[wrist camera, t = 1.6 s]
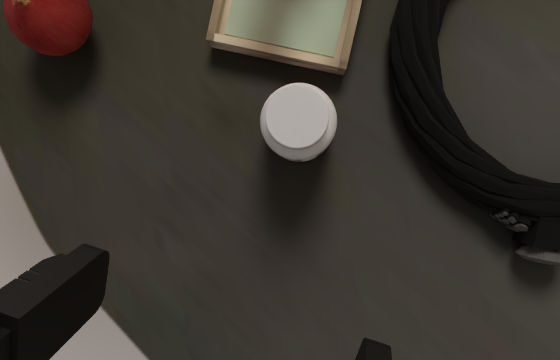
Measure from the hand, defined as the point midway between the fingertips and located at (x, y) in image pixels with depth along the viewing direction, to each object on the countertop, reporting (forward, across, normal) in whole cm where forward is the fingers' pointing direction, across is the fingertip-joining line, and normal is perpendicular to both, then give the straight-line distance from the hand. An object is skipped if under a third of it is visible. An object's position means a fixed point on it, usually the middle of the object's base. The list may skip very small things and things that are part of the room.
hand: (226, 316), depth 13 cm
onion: (+24, +22, -3) cm, 33 cm away
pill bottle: (+24, +2, 0) cm, 24 cm away
